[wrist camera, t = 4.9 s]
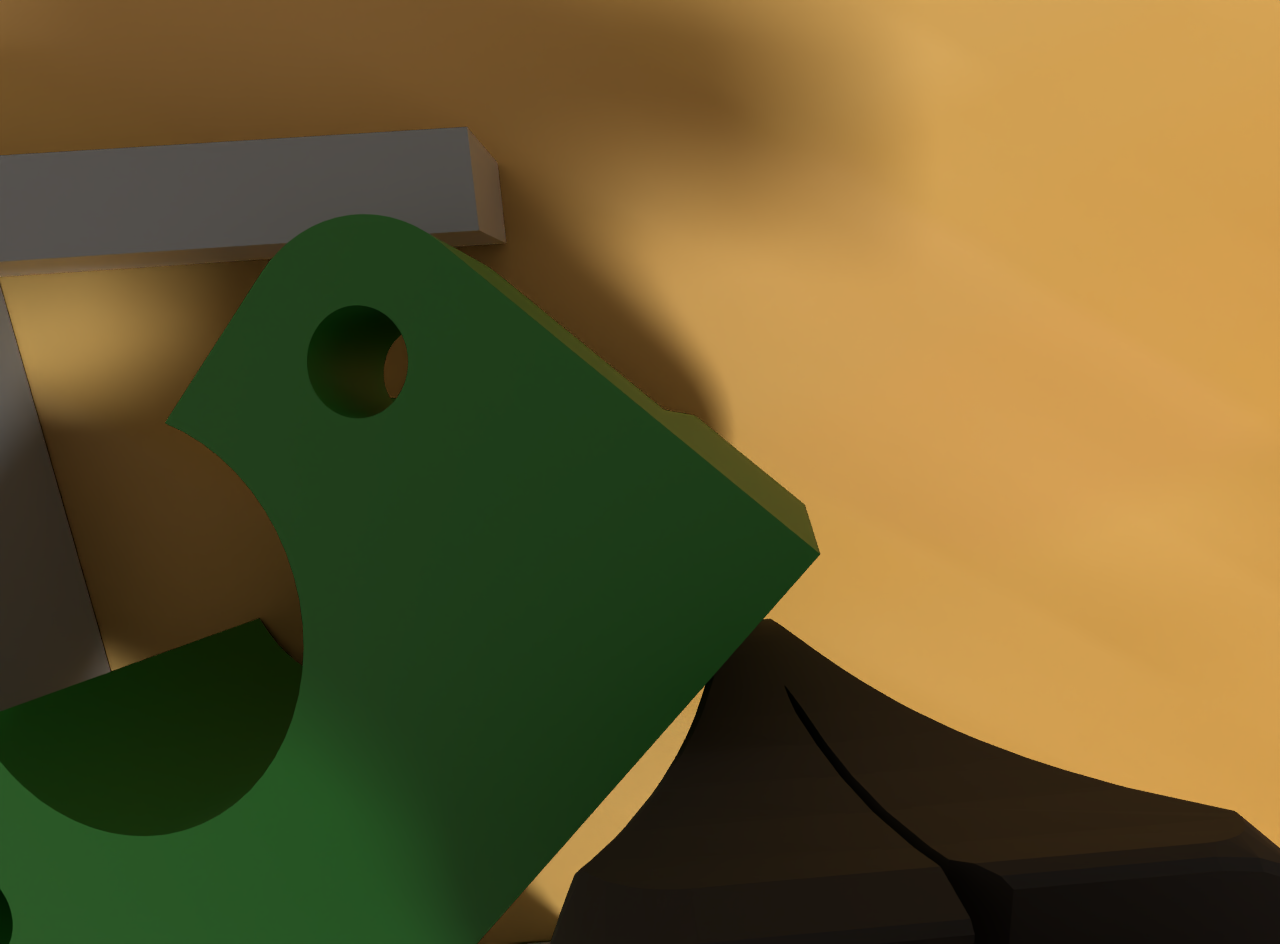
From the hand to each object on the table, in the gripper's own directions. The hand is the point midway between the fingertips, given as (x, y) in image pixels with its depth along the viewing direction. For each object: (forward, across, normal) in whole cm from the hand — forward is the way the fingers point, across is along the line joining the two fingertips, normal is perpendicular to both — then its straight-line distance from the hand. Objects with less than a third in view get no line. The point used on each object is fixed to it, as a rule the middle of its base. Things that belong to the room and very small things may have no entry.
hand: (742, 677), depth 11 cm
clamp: (+2, +5, -1) cm, 6 cm away
